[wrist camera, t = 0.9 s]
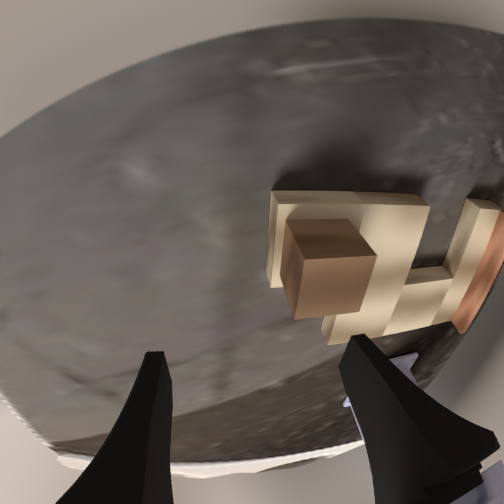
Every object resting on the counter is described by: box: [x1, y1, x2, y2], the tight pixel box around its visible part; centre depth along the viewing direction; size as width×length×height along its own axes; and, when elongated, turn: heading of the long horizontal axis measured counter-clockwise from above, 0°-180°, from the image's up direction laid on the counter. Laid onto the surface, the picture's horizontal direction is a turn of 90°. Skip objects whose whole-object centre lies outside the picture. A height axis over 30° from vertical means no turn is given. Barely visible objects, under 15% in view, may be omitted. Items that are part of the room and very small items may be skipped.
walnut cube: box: [280, 219, 377, 320], centre depth 18 cm, size 4×4×4 cm
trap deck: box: [266, 191, 504, 345], centre depth 22 cm, size 13×21×4 cm, turn 88°
